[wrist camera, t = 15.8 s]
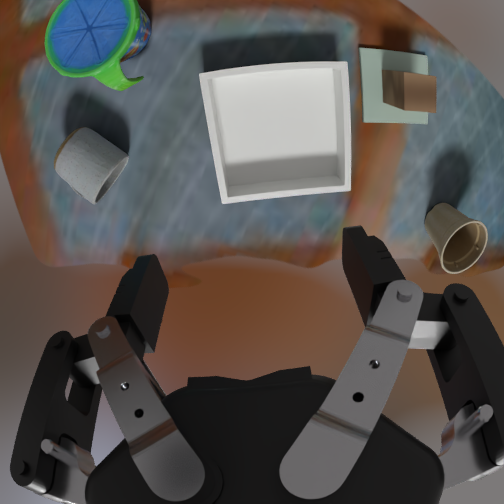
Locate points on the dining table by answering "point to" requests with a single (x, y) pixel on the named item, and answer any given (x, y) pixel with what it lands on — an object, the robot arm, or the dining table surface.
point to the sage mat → (372, 84)
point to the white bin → (279, 129)
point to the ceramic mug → (89, 163)
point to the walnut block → (409, 91)
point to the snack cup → (97, 39)
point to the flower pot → (455, 237)
